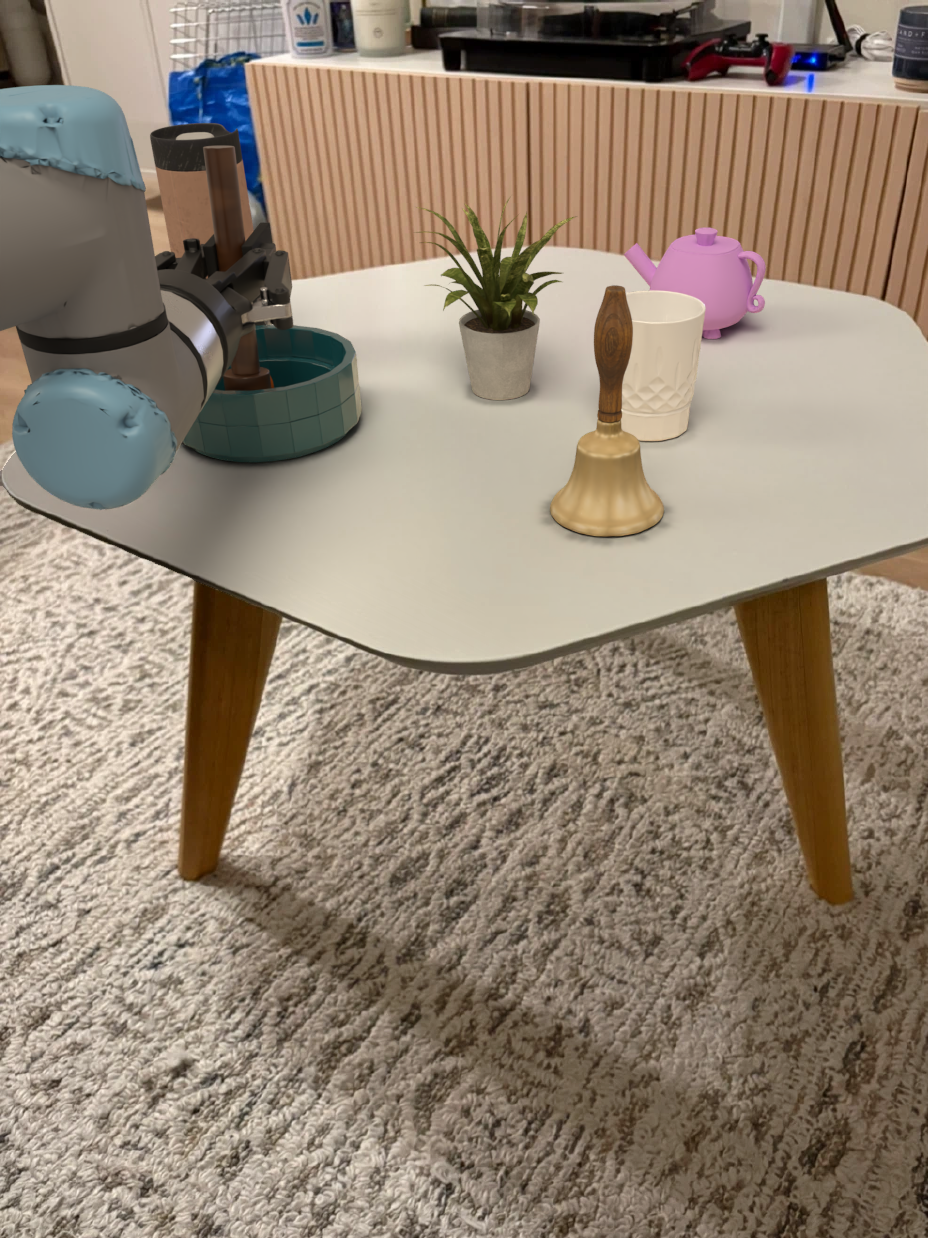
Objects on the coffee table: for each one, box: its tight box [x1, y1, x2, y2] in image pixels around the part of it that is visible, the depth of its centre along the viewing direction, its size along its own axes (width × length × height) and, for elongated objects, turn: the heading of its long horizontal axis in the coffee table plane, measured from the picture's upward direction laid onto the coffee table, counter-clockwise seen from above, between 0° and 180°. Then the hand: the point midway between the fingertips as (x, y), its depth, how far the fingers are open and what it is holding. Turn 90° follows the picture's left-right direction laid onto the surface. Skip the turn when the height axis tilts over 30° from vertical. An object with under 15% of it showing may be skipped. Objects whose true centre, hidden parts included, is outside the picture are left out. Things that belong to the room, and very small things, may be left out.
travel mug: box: [149, 122, 266, 326], centre depth 101 cm, size 8×8×20 cm
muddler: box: [203, 146, 271, 391], centre depth 83 cm, size 4×4×18 cm
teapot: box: [623, 227, 767, 340], centre depth 109 cm, size 10×15×9 cm
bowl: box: [182, 324, 363, 463], centre depth 92 cm, size 16×16×6 cm
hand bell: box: [549, 284, 665, 537], centre depth 76 cm, size 8×8×16 cm
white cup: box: [621, 289, 706, 442], centre depth 89 cm, size 8×8×10 cm
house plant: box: [412, 194, 578, 401], centre depth 94 cm, size 14×14×16 cm
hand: (249, 240), depth 87 cm, fingers closed on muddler, 2 cm apart
